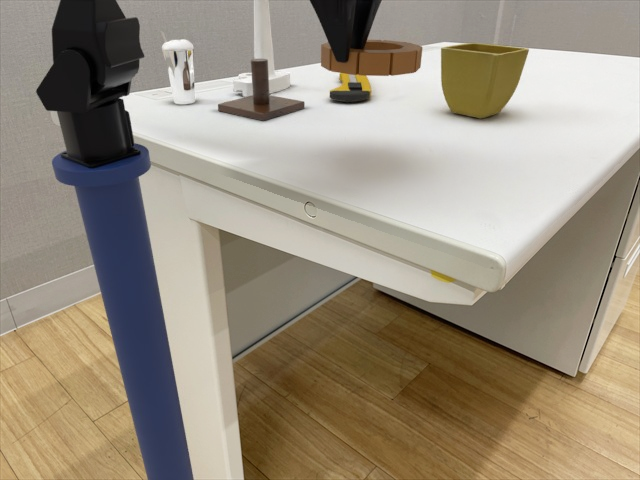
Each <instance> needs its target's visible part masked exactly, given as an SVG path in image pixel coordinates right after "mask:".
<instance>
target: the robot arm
mask: <svg viewBox="0 0 640 480" xmlns="http://www.w3.org/2000/svg"><path fill="white" fill-rule="evenodd" d="M382 1H383V0H309V2H310V4H311V6H312V8H313V10H314V12H315V14H316V16H317V19H318V21H319V23H320V25H321V28H322V31H323V32H324V36H325V38H326V39H327V42H329V45H330V47H331V50H332V52H333V54H334V57H335V59H336V61H337V62H341V63H346V62H347V61H348V58H349V53H350V48H351V49H360V50H364V47H365V45H366V42H367V40H369V36H370V32H371V30H372V27H373V24H374V21H375V18H376V16H377V13H378V10H379V8H380V6H381V3H382ZM56 9H57V10H56V13H55V16H54V20H53V23H52V26H51V49H52V53H51V54H52V65H51V67H50V68H49V69H48V71H47V72H46V74H45V75H44V77H43V79H42V81H41V82H40V83H39V85H38V87H37V88H36V90H35V93H36V95H37V97H38V98H39V101H40V102H41V104H42V106H43V107H44V109H45V110H46V111H47V112H56V113H57V114H56V115H57V118H58V122H59V126H60V130H61V134H62V139H63V141H64V146H65V149H66V150H67V152H64V151H62V152H63V153H62V152H60V153H61V154H60V153H59V154H60V155H61V158H63V159H66V160H68V161H71V162H74V163H76V164H79V165H81V166H84V167H87V168H90V169H93V168H97V167H100V166H104V165H107V164H110V163H114V162H117V161H120V160H123V159H127V158H130V157H133V156H136V155H140V154H141V151H140V149H137V148H133V147H132V146H134V144H135V138H134V132H133V127H132V122H131V116H130V111H128V110H126V106H125V101H124V99H123V97H127V96H130V93H131V88H132V87H131V85H132V80H133V79H134V78H135V77H136V75H137V74H138V73H139V70H140V60H141V59H144V58H145V54H144V51H143V49H142V46H141V45H142V44H141V39H140V35H141V25H140V20H139V18H138V17H137V16H135V17H126V16H125V15H126V14H125V13H124V11H123V10H122V8H121V7H120V5H119V3H118V1H117V0H59V3H58V7H57V8H56ZM66 150H65V151H66Z"/></svg>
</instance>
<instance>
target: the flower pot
mask: <svg viewBox="0 0 640 480" xmlns="http://www.w3.org/2000/svg"><path fill="white" fill-rule="evenodd" d="M529 52H530V48H526V47H517V46H508V45H500V44H499V45H498V44H491V43H490V44H489V43H480V42H468V43H460V44H455V45H447V46H443V47H441V48H440V82H441V89H442V94H443V96H444V100H445V103H446V104H447V107H448V109H449V110H450V112H451V113H453V114H456V115H458V114H459V115H463V116H468V117H472V118H477V119H485V118H489V117H490V116H494V115H497V114H499V113H500V112H502V110H503V109H504V108H505V107H506V106H507V104H508V103H509V102H510V100H511V98H512V97H513V95H514V94H515V92H516V90H517V88H518V85H519V83H520V80H521V77H522V74H523V70H524V67H525V65H526V62H527V57H528V55H529Z"/></svg>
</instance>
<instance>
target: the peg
mask: <svg viewBox="0 0 640 480" xmlns="http://www.w3.org/2000/svg"><path fill="white" fill-rule="evenodd" d="M250 73H252V89H253V95H252V96H248V97H244V96H243V97H241V98H237V99H233V100H228V101H225V102H220V103H218V104H217V110H218V112H221V113H227V114H231V115H235V116H240V117H243V118H248V119H254V120H257V121H263V122H264V121H268V120H270V119H274V118H278V117H280V116H284V115H287V114H290V113H293V112H296V111H299V110H303V109H305V101H304V100H299V99H292V98H288V97H283V96H277V95H270V94H269V75H268V60H267V59H254V58H252V59H250Z"/></svg>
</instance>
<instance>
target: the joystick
mask: <svg viewBox="0 0 640 480" xmlns="http://www.w3.org/2000/svg"><path fill="white" fill-rule="evenodd" d="M270 10H271V9H270V0H253V56H254V57H253V59H267V60H268V75H269V95H270V94H274V93H278V92H281V91H284V90H286V89H288V88H290V87H291V72H288V71H281V70H276V69H275V59H274V58H275V57H274V46H273V35H272V24H271V11H270ZM232 85H233V92H234V93H242V97H243V98H244V97H248V96H252V95H253V89H252V73H251V72H242V73H239V74H238V79H233V80H232Z"/></svg>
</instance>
